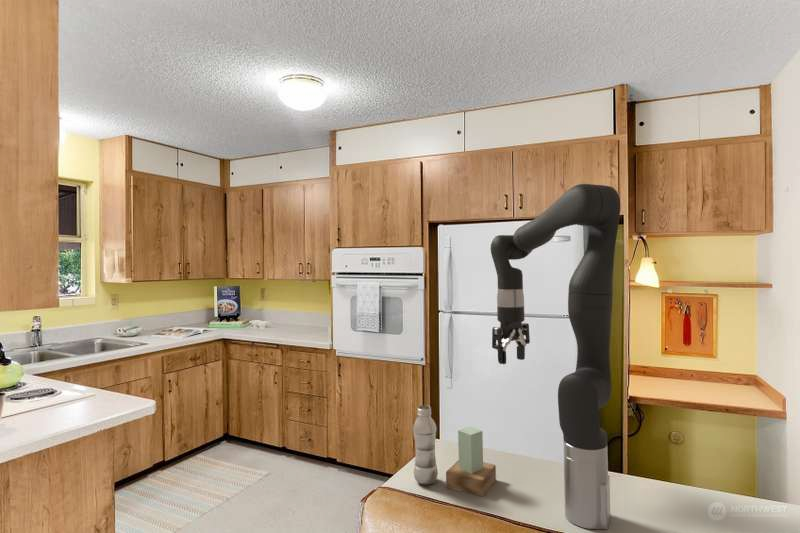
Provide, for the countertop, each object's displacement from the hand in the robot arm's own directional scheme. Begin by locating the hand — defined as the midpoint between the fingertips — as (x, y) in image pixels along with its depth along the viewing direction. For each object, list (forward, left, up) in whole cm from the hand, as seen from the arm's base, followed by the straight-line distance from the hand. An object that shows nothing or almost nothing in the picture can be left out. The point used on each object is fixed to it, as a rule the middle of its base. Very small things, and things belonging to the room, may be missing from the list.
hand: (511, 361), depth 129 cm
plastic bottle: (+18, +20, -30) cm, 41 cm away
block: (+7, +15, -26) cm, 31 cm away
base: (+7, +15, -30) cm, 34 cm away
